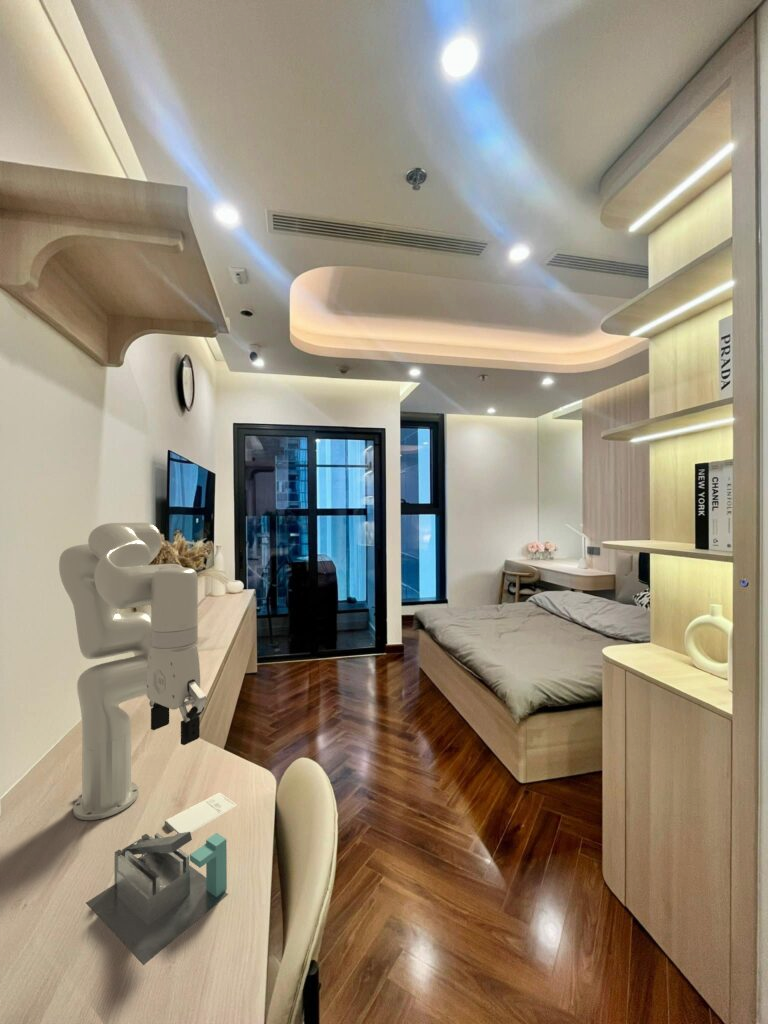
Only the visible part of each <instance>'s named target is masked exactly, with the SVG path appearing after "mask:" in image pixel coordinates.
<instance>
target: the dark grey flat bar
mask: <svg viewBox="0 0 768 1024" xmlns="http://www.w3.org/2000/svg"><path fill="white" fill-rule="evenodd" d="M192 840H193V839H192V833H190V832H185V833H178V832H177V833H176V834H175V835H171V836H163V838H156V839H155V838H154V839H149V840H143V841H142V838H139V839H138V840H136V841H133V843H131V844H129V845H128V846H126V847H124V848H123V849H121V851H122V852H123V856H124V857H125V852H126V851H129V852H130V853H132V854H133V855H134V856H135V855H142V854H145V853H154V852H160V854H162V853H171V852H174V851H176V850H177V849H180V848H182V847H183V846H185V845H186V844H188V843H189V842H191V841H192Z"/></svg>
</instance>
